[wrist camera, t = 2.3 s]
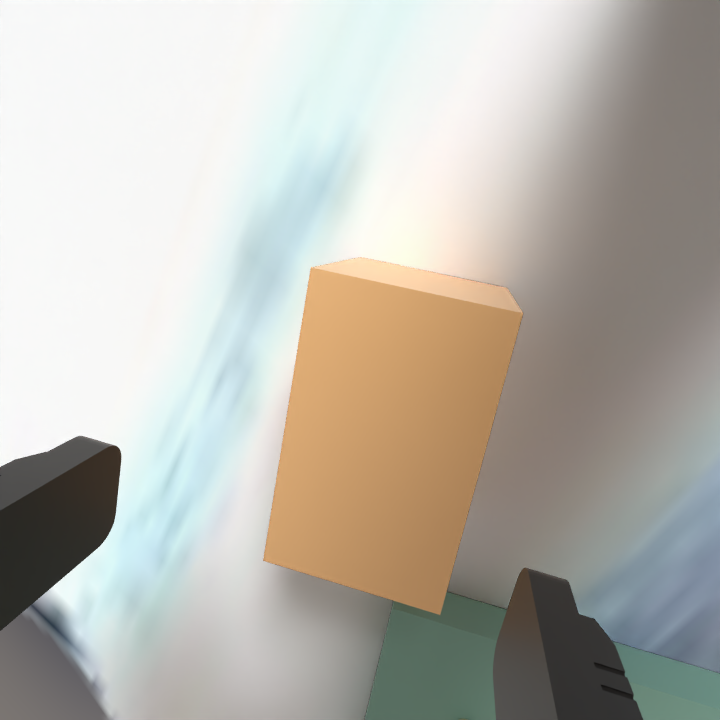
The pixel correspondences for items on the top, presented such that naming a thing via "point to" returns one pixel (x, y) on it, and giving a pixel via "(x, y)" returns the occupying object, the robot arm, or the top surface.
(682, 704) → the header board
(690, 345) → the top surface
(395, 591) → the block
